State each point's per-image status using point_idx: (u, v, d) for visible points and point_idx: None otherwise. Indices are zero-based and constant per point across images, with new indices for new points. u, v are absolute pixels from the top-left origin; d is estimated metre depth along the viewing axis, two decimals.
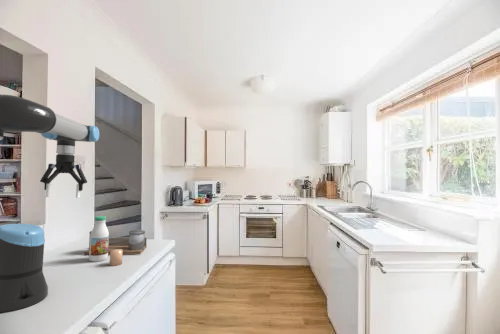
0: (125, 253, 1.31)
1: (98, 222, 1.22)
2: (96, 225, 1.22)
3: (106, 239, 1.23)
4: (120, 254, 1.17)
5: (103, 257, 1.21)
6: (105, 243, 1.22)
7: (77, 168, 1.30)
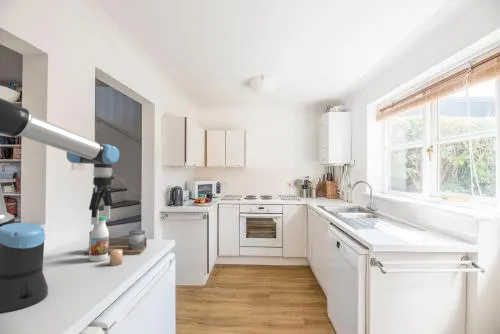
0: (125, 253, 1.31)
1: (98, 222, 1.22)
2: (96, 225, 1.22)
3: (106, 239, 1.23)
4: (120, 254, 1.17)
5: (103, 257, 1.21)
6: (105, 243, 1.22)
7: None
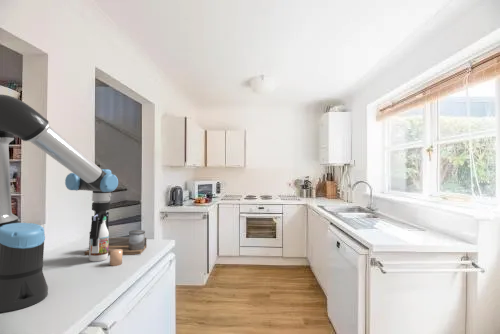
0: (125, 253, 1.31)
1: None
2: None
3: (106, 239, 1.23)
4: (120, 254, 1.17)
5: (103, 257, 1.21)
6: (105, 243, 1.22)
7: None
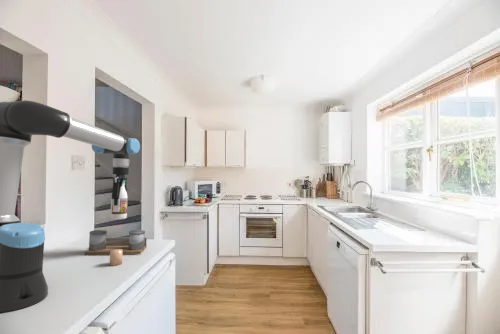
0: (125, 253, 1.31)
1: None
2: None
3: (125, 200, 1.36)
4: (120, 254, 1.17)
5: (123, 216, 1.35)
6: (124, 204, 1.36)
7: None
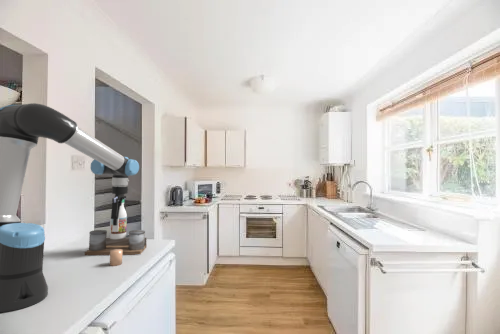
0: (125, 253, 1.31)
1: None
2: None
3: (125, 219, 1.36)
4: (120, 254, 1.17)
5: (122, 235, 1.35)
6: (124, 223, 1.35)
7: None
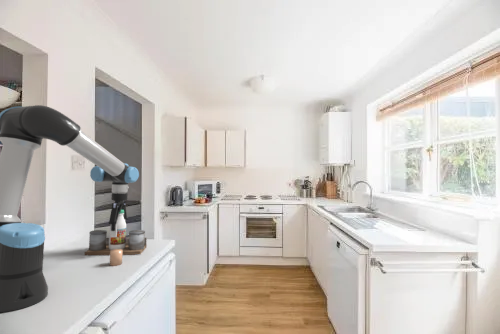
0: (125, 253, 1.31)
1: None
2: None
3: (124, 230, 1.35)
4: (120, 254, 1.17)
5: (121, 246, 1.34)
6: (123, 234, 1.35)
7: None
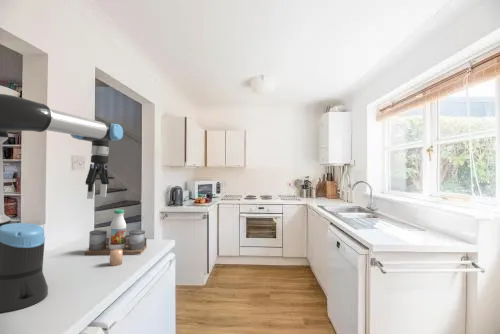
0: (125, 253, 1.31)
1: (117, 215, 1.35)
2: (116, 217, 1.35)
3: (124, 230, 1.36)
4: (120, 254, 1.17)
5: (121, 246, 1.34)
6: (123, 234, 1.35)
7: None
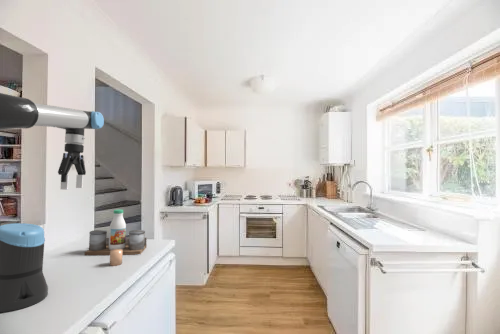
0: (125, 253, 1.31)
1: (116, 215, 1.35)
2: (115, 217, 1.35)
3: (124, 230, 1.36)
4: (120, 254, 1.17)
5: (121, 246, 1.34)
6: (123, 234, 1.35)
7: None
